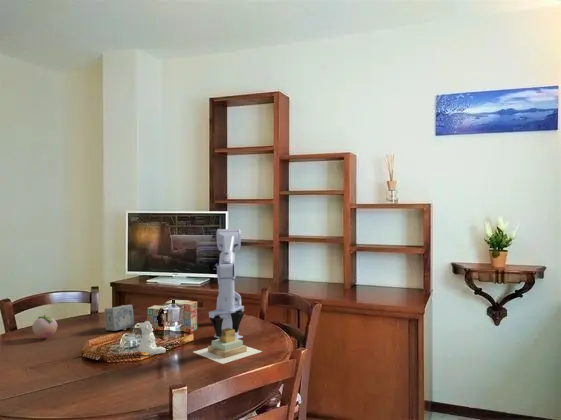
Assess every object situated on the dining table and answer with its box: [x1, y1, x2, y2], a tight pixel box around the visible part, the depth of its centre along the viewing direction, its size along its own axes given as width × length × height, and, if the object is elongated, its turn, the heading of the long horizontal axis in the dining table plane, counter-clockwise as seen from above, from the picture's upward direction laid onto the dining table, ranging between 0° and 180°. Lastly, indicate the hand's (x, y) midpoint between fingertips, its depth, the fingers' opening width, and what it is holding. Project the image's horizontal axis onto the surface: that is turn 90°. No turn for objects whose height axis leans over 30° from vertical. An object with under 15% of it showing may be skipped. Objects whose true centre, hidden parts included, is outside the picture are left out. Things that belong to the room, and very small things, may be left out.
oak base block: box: [207, 344, 248, 358], centre depth 169 cm, size 10×10×2 cm
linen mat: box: [193, 346, 263, 365], centre depth 169 cm, size 18×18×1 cm
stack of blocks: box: [146, 299, 198, 333], centre depth 202 cm, size 21×6×12 cm, turn 73°
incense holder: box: [103, 304, 135, 332], centre depth 202 cm, size 10×8×10 cm
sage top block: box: [211, 338, 244, 351], centre depth 169 cm, size 8×8×2 cm
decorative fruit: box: [31, 314, 58, 339], centre depth 189 cm, size 9×8×10 cm
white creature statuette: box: [137, 320, 166, 356], centre depth 170 cm, size 10×9×12 cm
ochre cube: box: [218, 328, 235, 343], centre depth 169 cm, size 4×4×4 cm
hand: (227, 334), depth 169 cm, fingers open, 7 cm apart
